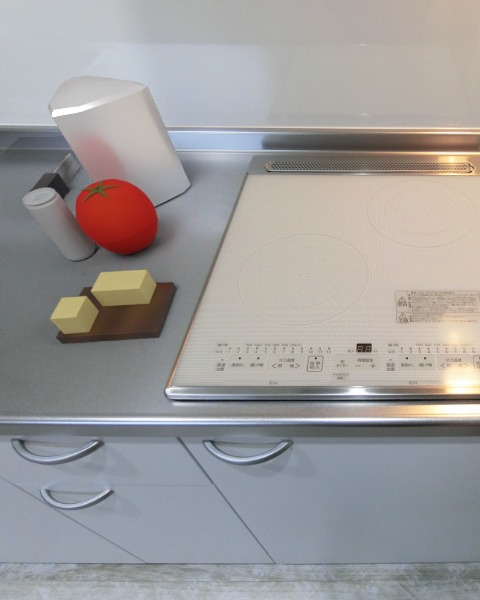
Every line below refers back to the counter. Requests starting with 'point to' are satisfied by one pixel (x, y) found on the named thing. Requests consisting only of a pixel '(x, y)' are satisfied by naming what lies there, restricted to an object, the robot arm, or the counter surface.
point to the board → (126, 318)
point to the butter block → (124, 288)
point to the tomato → (117, 216)
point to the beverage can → (59, 223)
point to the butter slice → (74, 315)
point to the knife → (59, 177)
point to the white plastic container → (119, 134)
